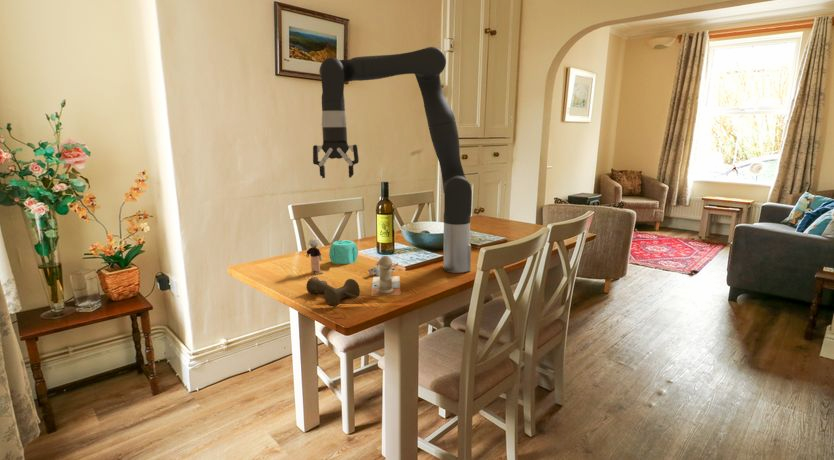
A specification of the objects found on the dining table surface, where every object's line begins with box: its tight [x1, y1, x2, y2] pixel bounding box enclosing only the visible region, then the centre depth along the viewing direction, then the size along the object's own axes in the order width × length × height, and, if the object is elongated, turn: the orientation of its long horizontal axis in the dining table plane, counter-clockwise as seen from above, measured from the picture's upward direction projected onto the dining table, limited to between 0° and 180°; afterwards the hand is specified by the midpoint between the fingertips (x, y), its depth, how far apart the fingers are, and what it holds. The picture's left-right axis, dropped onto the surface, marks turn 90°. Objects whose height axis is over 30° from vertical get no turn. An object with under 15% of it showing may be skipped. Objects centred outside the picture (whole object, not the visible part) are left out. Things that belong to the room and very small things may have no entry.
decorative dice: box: [328, 239, 359, 265], centre depth 168 cm, size 8×8×8 cm
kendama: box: [305, 276, 361, 308], centre depth 132 cm, size 6×10×20 cm
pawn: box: [378, 255, 394, 296], centre depth 134 cm, size 4×4×11 cm
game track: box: [370, 275, 401, 297], centre depth 141 cm, size 10×18×1 cm, turn 3°
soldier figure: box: [368, 260, 402, 277], centre depth 153 cm, size 8×5×12 cm
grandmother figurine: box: [306, 237, 324, 275], centre depth 156 cm, size 8×4×13 cm, turn 65°
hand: (336, 177), depth 144 cm, fingers open, 8 cm apart
